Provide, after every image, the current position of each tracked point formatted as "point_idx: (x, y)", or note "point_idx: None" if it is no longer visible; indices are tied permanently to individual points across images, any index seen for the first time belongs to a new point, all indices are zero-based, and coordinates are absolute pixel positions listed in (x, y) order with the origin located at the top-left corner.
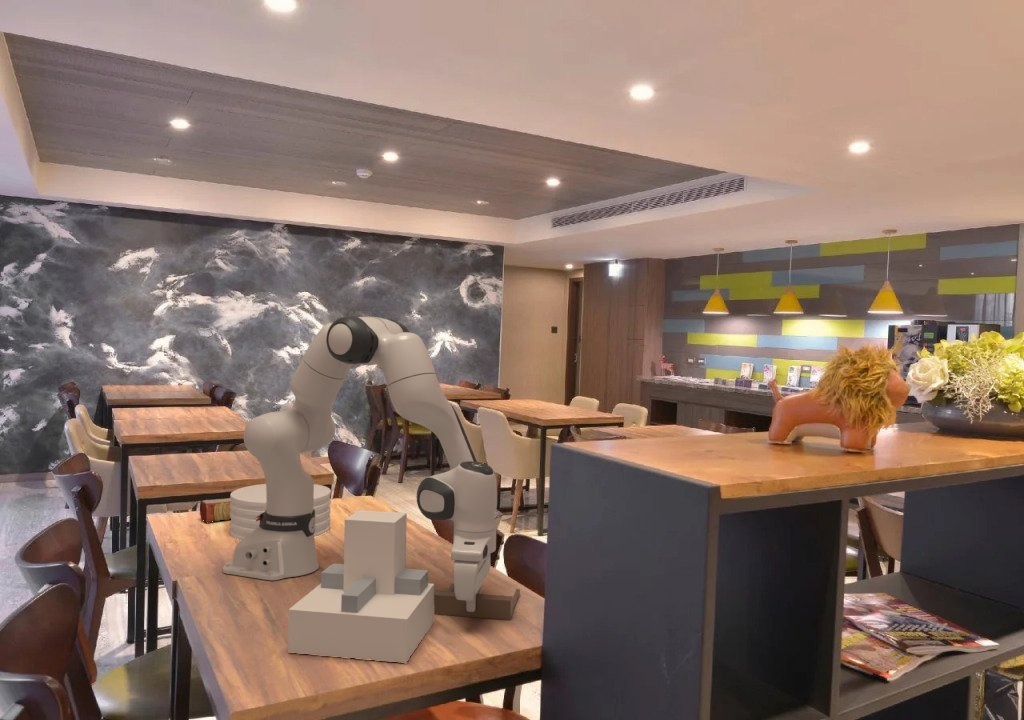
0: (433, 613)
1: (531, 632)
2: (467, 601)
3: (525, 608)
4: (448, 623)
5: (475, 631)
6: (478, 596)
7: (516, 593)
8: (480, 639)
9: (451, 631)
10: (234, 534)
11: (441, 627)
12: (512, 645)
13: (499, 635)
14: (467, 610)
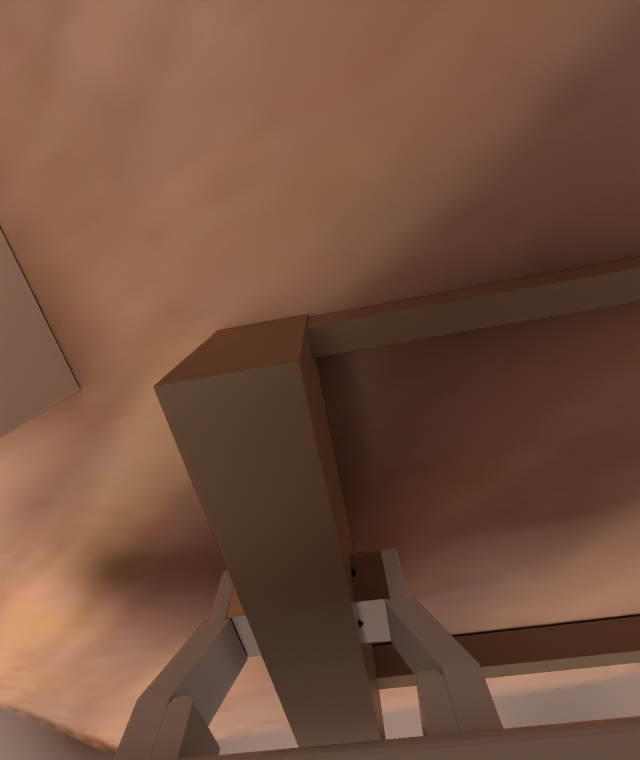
0: (28, 420)
1: (239, 728)
2: (192, 645)
3: None
4: (136, 464)
5: (127, 595)
6: (307, 681)
7: (623, 658)
8: (66, 631)
9: (53, 514)
10: None
11: (61, 453)
12: (96, 713)
13: (149, 668)
14: (224, 574)
